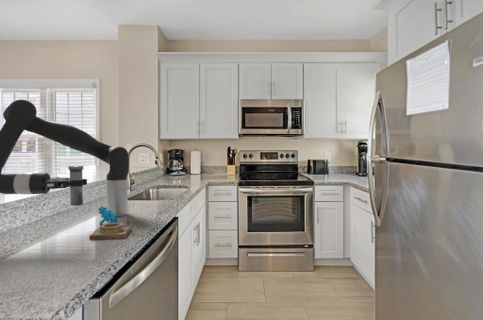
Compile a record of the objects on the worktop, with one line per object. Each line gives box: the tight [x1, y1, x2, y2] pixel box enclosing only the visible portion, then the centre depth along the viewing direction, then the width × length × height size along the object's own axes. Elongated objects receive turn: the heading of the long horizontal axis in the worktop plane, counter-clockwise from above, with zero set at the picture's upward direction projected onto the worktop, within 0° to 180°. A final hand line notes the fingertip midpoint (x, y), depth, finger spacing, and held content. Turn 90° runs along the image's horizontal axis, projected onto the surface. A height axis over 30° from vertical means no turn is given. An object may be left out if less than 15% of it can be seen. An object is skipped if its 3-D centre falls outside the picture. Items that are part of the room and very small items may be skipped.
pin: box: [67, 165, 84, 207], centre depth 113 cm, size 5×5×14 cm
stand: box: [89, 222, 132, 241], centre depth 117 cm, size 12×12×4 cm
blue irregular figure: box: [97, 206, 120, 225], centre depth 134 cm, size 11×6×10 cm
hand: (84, 182), depth 114 cm, fingers closed on pin, 4 cm apart
